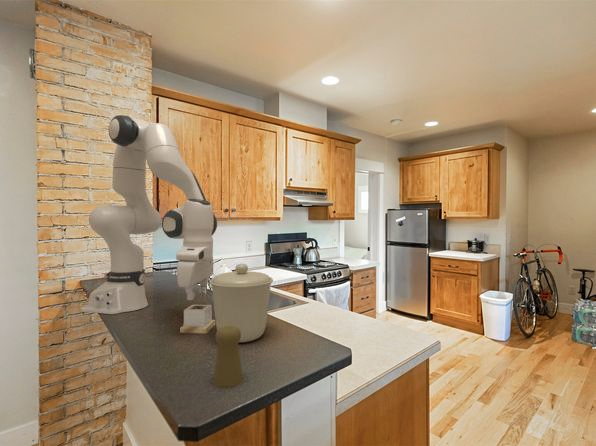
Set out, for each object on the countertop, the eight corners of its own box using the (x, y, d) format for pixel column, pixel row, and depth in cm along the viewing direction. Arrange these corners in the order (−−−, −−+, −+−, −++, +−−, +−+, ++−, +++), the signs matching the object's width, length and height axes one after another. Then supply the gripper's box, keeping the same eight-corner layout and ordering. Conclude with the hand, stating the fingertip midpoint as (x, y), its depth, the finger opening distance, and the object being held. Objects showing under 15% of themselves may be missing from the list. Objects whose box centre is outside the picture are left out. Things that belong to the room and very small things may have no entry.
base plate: (180, 332, 92) (180, 312, 92) (190, 323, 100) (191, 305, 100) (206, 333, 92) (206, 313, 92) (215, 324, 100) (215, 305, 100)
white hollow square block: (183, 326, 93) (183, 310, 93) (192, 320, 99) (192, 304, 99) (204, 327, 92) (204, 310, 92) (211, 320, 99) (211, 304, 99)
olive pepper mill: (232, 390, 61) (232, 334, 61) (207, 384, 63) (207, 330, 63) (248, 376, 66) (248, 325, 66) (224, 370, 69) (224, 321, 69)
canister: (198, 334, 91) (199, 262, 91) (251, 322, 102) (252, 258, 102) (227, 355, 77) (228, 270, 77) (285, 337, 88) (285, 264, 88)
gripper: (200, 247, 106) (199, 287, 107) (173, 254, 86) (172, 304, 86) (218, 248, 106) (217, 288, 106) (195, 255, 86) (194, 305, 86)
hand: (196, 295), depth 96 cm, fingers open, 8 cm apart
